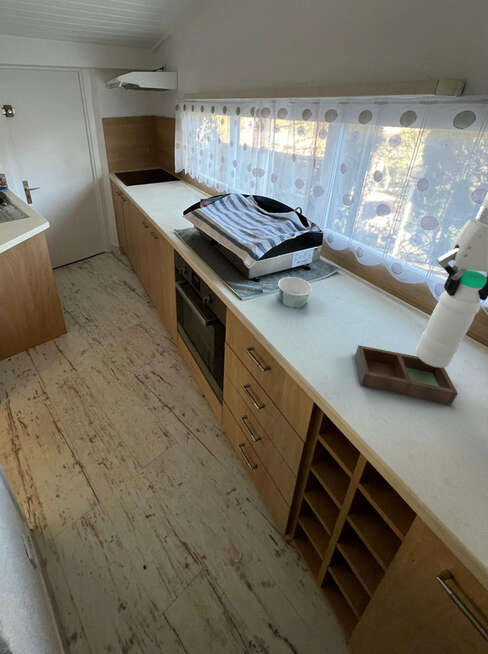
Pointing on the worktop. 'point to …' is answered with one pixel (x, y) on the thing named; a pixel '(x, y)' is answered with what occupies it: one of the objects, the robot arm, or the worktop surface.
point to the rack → (403, 375)
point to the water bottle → (451, 321)
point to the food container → (294, 291)
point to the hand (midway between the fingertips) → (464, 293)
